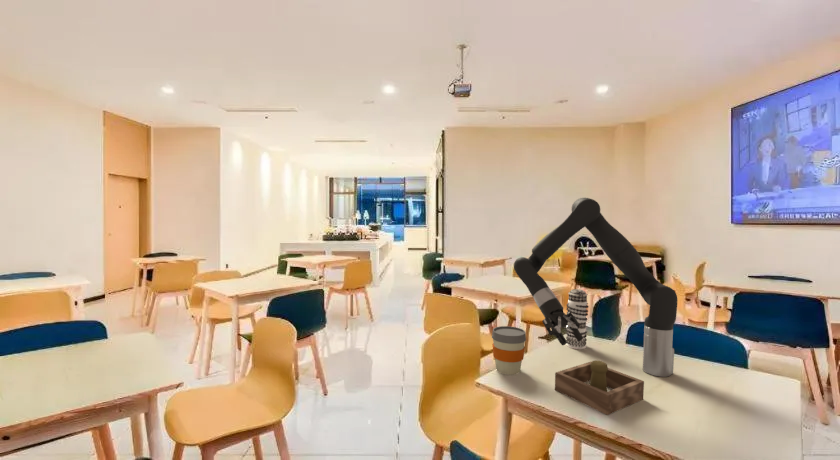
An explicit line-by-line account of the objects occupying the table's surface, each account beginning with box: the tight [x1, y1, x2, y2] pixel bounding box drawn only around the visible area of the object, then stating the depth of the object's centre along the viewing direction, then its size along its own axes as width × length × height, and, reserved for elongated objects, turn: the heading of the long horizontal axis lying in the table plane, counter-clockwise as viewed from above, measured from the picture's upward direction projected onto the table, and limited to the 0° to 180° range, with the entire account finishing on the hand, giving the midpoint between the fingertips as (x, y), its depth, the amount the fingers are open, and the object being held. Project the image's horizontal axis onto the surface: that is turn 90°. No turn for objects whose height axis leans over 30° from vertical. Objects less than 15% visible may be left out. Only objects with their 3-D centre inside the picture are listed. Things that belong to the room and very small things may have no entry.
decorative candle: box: [565, 288, 590, 350], centre depth 179 cm, size 9×9×25 cm
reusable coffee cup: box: [491, 325, 527, 376], centre depth 152 cm, size 13×13×15 cm
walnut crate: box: [554, 361, 645, 416], centre depth 133 cm, size 19×19×6 cm
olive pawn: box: [589, 360, 609, 392], centre depth 133 cm, size 6×6×11 cm
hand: (573, 342), depth 141 cm, fingers open, 8 cm apart
